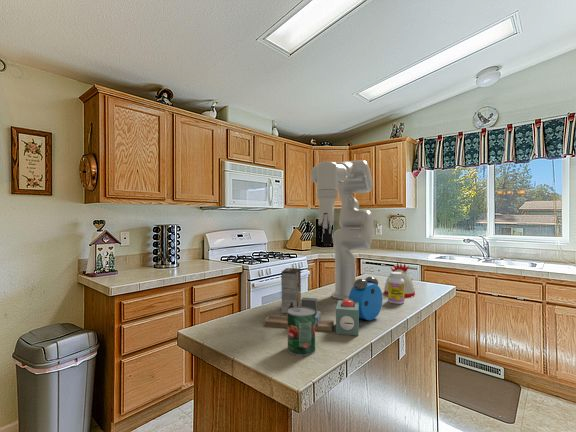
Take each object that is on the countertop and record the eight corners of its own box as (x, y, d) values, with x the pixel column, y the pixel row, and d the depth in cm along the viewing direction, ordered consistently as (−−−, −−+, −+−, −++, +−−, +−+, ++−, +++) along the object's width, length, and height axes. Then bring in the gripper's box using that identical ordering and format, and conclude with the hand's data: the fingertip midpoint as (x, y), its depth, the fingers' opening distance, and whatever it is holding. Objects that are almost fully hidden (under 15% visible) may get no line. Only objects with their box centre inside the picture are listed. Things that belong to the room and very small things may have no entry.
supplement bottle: (388, 303, 132) (388, 273, 132) (387, 299, 138) (387, 271, 138) (405, 304, 130) (405, 274, 130) (403, 300, 137) (403, 271, 137)
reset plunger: (342, 313, 105) (342, 299, 105) (353, 314, 104) (353, 299, 104) (341, 317, 101) (341, 302, 101) (353, 318, 101) (353, 302, 101)
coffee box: (286, 306, 129) (285, 267, 129) (301, 307, 128) (301, 268, 128) (281, 313, 120) (281, 271, 120) (297, 314, 119) (297, 272, 119)
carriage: (301, 316, 111) (301, 295, 111) (320, 317, 109) (320, 296, 109) (296, 323, 103) (296, 301, 103) (317, 325, 101) (317, 302, 101)
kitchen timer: (415, 298, 140) (415, 265, 140) (384, 296, 145) (384, 264, 145) (413, 291, 154) (413, 261, 153) (384, 289, 158) (384, 260, 158)
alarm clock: (369, 313, 120) (369, 274, 120) (383, 317, 115) (383, 276, 115) (347, 320, 111) (347, 278, 111) (361, 325, 106) (361, 281, 106)
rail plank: (270, 319, 113) (270, 315, 113) (333, 324, 107) (333, 319, 107) (264, 325, 106) (264, 321, 106) (331, 331, 101) (331, 326, 101)
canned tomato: (321, 349, 87) (321, 310, 87) (301, 358, 82) (301, 317, 82) (301, 341, 93) (301, 305, 93) (281, 349, 87) (281, 310, 87)
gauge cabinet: (338, 323, 108) (338, 300, 108) (358, 324, 107) (358, 301, 107) (335, 334, 98) (335, 309, 98) (358, 336, 97) (358, 310, 97)
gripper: (319, 196, 123) (320, 242, 123) (314, 194, 109) (314, 246, 109) (338, 196, 122) (338, 242, 122) (335, 193, 107) (335, 246, 107)
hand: (327, 244), depth 115 cm, fingers closed
